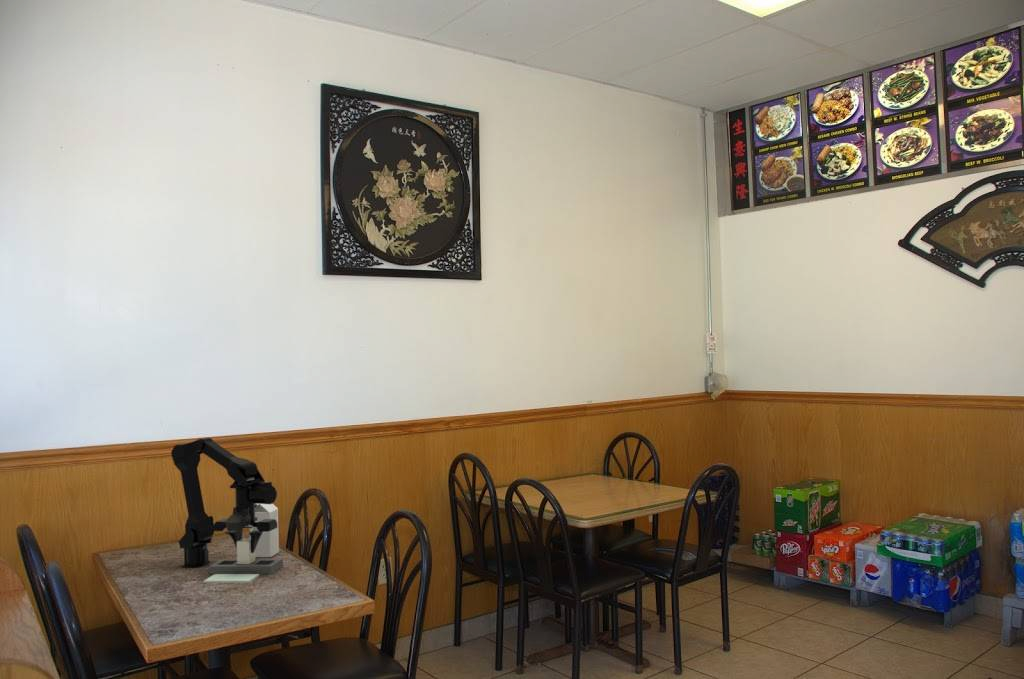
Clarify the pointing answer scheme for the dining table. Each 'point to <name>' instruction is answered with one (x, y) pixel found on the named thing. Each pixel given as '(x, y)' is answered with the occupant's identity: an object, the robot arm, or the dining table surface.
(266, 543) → the milk carton
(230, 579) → the mat
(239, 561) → the plug
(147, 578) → the dining table surface
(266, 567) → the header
